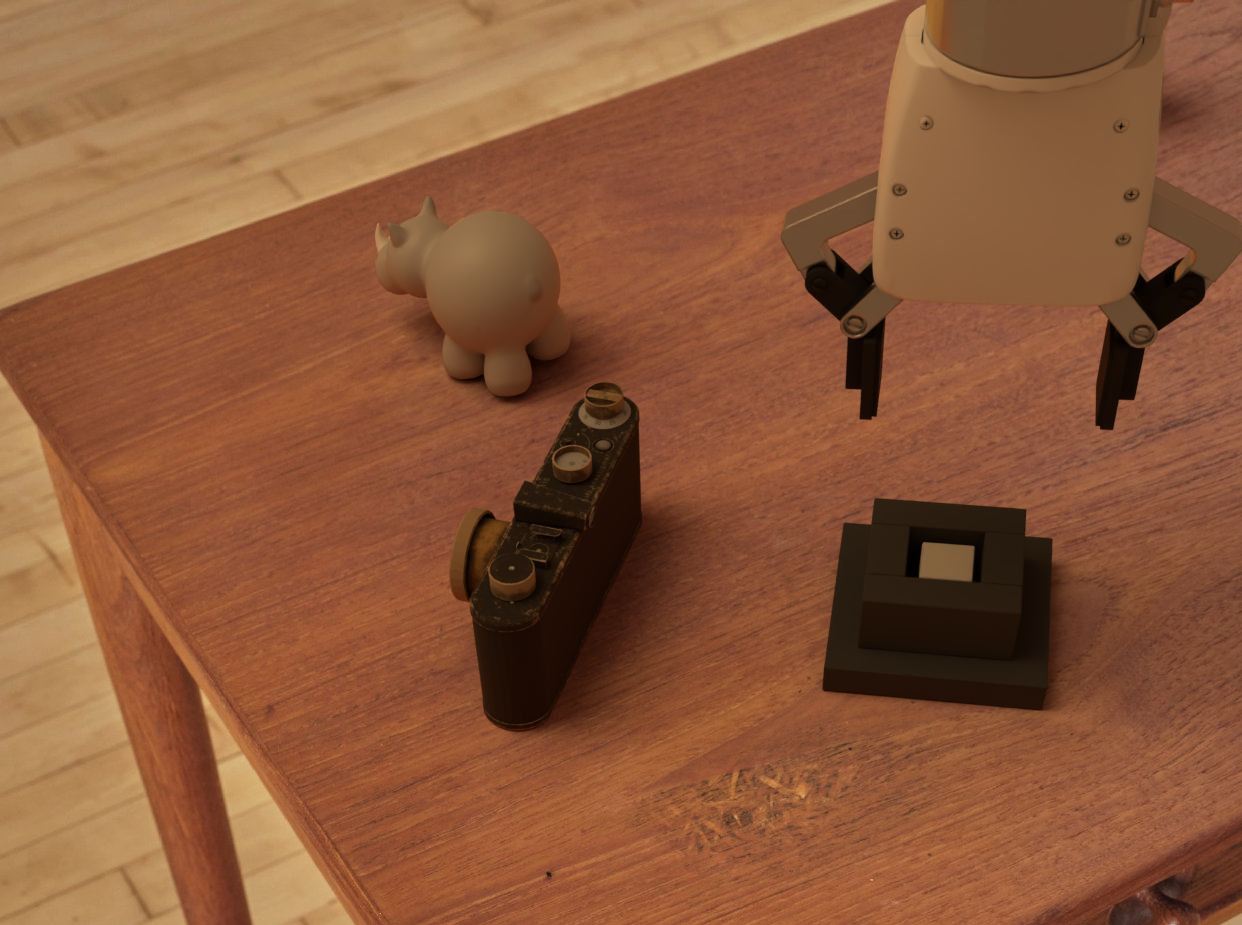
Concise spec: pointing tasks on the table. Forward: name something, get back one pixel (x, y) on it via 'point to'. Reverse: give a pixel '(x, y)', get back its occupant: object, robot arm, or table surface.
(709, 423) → the table surface
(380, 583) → the table surface
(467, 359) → the chubby cartoon animal
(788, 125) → the table surface
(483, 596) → the camera
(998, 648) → the black square ring block
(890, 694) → the base pad
